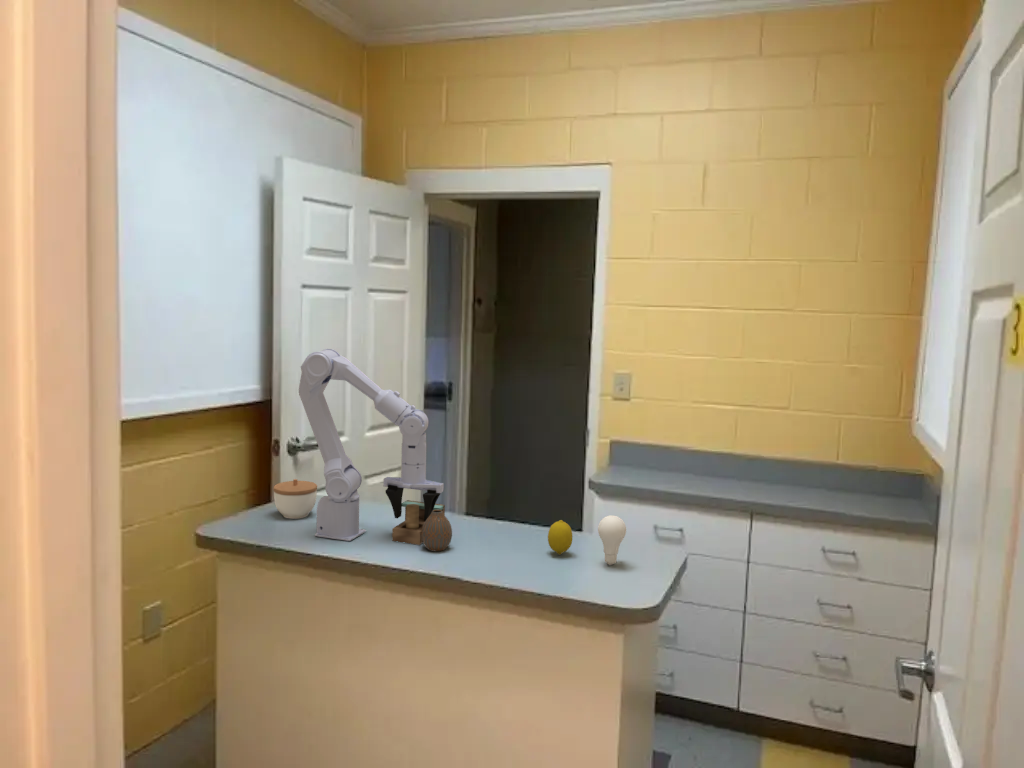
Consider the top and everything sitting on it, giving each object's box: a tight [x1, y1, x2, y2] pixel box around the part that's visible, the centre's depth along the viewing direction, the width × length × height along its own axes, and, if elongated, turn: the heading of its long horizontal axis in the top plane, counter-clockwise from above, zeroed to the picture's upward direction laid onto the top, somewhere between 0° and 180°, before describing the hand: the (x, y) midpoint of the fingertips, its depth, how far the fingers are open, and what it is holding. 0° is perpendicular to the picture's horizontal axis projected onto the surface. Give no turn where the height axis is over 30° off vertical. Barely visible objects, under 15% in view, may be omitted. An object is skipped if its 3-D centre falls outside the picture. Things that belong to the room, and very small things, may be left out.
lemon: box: [547, 519, 573, 556], centre depth 174 cm, size 6×6×8 cm
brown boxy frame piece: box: [391, 499, 446, 546], centre depth 184 cm, size 10×11×7 cm
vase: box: [422, 510, 453, 552], centre depth 176 cm, size 7×7×9 cm
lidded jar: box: [272, 478, 318, 520], centre depth 197 cm, size 11×11×9 cm
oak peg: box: [406, 504, 419, 530], centre depth 182 cm, size 3×3×8 cm
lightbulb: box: [597, 515, 627, 566], centre depth 169 cm, size 6×6×11 cm
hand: (412, 519), depth 182 cm, fingers open, 7 cm apart
